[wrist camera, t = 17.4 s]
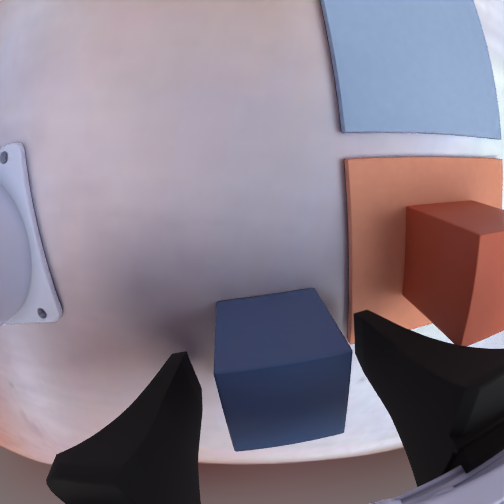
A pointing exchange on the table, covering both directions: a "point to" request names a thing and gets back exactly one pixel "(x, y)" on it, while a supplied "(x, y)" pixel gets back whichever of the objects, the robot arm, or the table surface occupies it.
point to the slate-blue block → (280, 369)
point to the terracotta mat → (402, 222)
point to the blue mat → (412, 67)
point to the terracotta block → (456, 267)
